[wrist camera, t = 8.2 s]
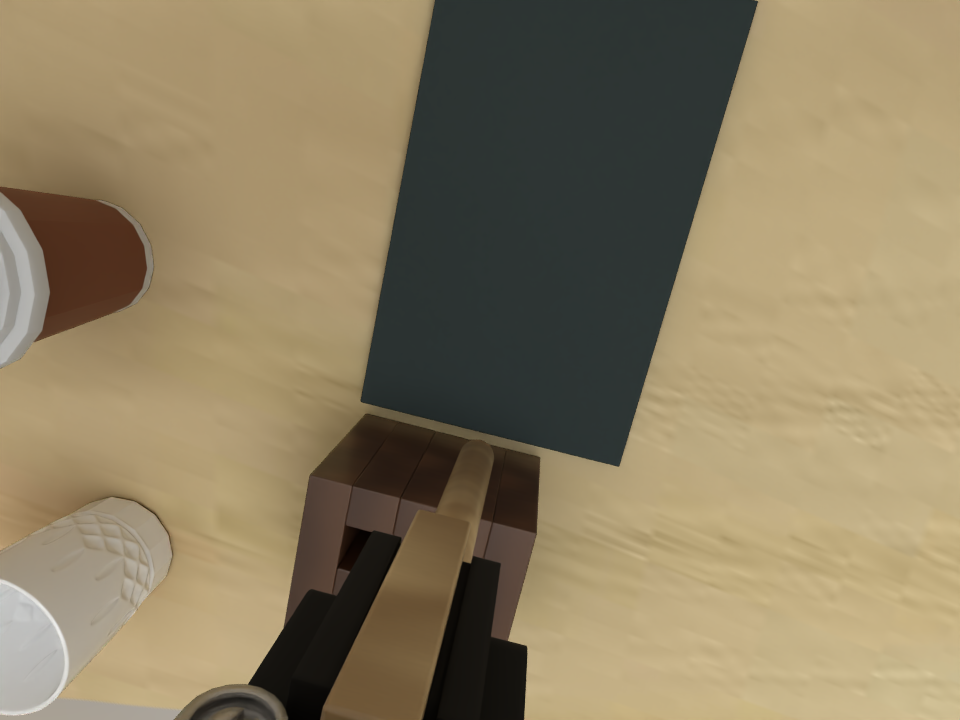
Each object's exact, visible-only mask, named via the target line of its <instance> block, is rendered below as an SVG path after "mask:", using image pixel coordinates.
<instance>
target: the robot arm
mask: <svg viewBox="0 0 960 720" xmlns="http://www.w3.org/2000/svg"><path fill="white" fill-rule="evenodd" d="M401 541H402V537H399V536H395V535H391V534H387V533H383V532H379V531H375V530H373V532H372V533H371V535H370V537H369V538H368V540H367V542H366V544H365V546H364V547H363V549H362V551H361V553H360V555H359V556H358V558H357V560H356V562H355V564H354V565H353V567H352V569H351V571H350V573H349V574H348V576H347V578H346V580H345V582H344V584H343V585H342V587H341V589H340V591H339V593H338V594H337V596H336V595H332V594H329V593H325V592H321V591H317V590H314V589H310V590H309V591H308V592H307V593H306V594H305V596H304V597H303V599H302V600H301V602H300V604H299V605H298V607H297V608H296V610H295V611H294V613H293V615H292V616H291V618H290V619H289V621H288V622H287V624H286V626H285V627H284V629H283V630H282V632H281V633H280V635H279V637H278V638H277V640H276V641H275V643H274V644H273V646H272V647H271V649H270V651H269V652H268V654H267V655H266V657H265V658H264V660H263V662H262V663H261V665H260V666H259V668H258V669H257V671H256V673H255V674H254V676H253V677H252V679H251V680H250V682H249V684H248V685H247V684H234V685H225V686H221V687H217V688H213V689H211V690H209V691H207V692H205V693H203V694H201V695H199V696H197V697H196V698H195V699H193V700H192V701H191V702H190V703H189V704H188V705H187V706H185V707H184V709H183V710H182V711H181V712H180V713H179V714H178V716H177V717H176V718H175V719H174V720H320V718H321V713H322V709H323V706H324V704H325V702H326V699H327V697H328V695H329V693H330V691H331V689H332V687H333V685H334V683H335V681H336V679H337V677H338V675H339V672H340V670H341V668H342V666H343V664H344V662H345V660H346V658H347V656H348V654H349V652H350V650H351V648H352V645H353V643H354V641H355V639H356V637H357V635H358V633H359V631H360V629H361V627H362V625H363V623H364V621H365V619H366V616H367V614H368V612H369V610H370V608H371V606H372V604H373V602H374V600H375V598H376V596H377V594H378V592H379V589H380V587H381V585H382V583H383V581H384V579H385V577H386V575H387V573H388V571H389V569H390V567H391V565H392V562H393V560H394V558H395V556H396V554H397V552H398V550H399V548H400V546H401ZM500 567H501V563H499V562H495V561H491V560H487V559H483V558H480V557H476V556H473V558H472V562H471V563H467V562H462V566H461V570H460V574H459V578H458V582H457V586H456V590H455V594H454V597H453V601H452V605H451V609H450V613H449V617H448V621H447V625H446V629H445V633H444V637H443V641H442V645H441V649H440V653H439V657H438V661H437V665H436V669H435V673H434V677H433V681H432V685H431V689H430V693H429V697H428V701H427V705H426V709H425V713H424V717H423V720H524V710H525V691H526V671H527V646H524V645H521V644H517V643H513V642H509V641H506V640H502V639H498V638H494V637H491V632H492V625H493V618H494V611H495V603H496V596H497V589H498V582H499V575H500Z"/></svg>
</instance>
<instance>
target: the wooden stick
mask: <svg viewBox="0 0 960 720" xmlns="http://www.w3.org/2000/svg"><path fill="white" fill-rule="evenodd" d="M493 462H494V453H493V450H492V448H491V447H490V445H489V444H487V443H486V442H484V441H482V440H471V441H469V442H467V443H466V444H465V445H464V446H463V447H462V449H461V451H460V453H459V456H458V458H457V461H456V463H455V465H454V468H453V470H452V473H451V475H450V478H449V480H448V483H447V485H446V487H445V490H444V492H443V495H442V497H441V500H440V502H439V505H438V507H437V510H436V512H435V513H433V512H429V511H425V510H418V511H417V513H416V515H415V517H414V519H413V521H412V523H411V525H410V527H409V529H408V531H407V533H406V535H405V538H404V540H403V542H402V544H401V546H400V548H399V550H398V552H397V554H396V556H395V558H394V560H393V562H392V565H391V567H390V569H389V571H388V573H387V575H386V577H385V579H384V581H383V583H382V585H381V587H380V589H379V592H378V594H377V596H376V598H375V600H374V602H373V604H372V606H371V608H370V610H369V612H368V614H367V616H366V619H365V621H364V623H363V625H362V627H361V629H360V631H359V633H358V635H357V637H356V639H355V641H354V643H353V645H352V648H351V650H350V652H349V654H348V656H347V658H346V660H345V662H344V664H343V666H342V668H341V670H340V672H339V675H338V677H337V679H336V681H335V683H334V685H333V687H332V689H331V691H330V693H329V695H328V697H327V699H326V702H325V704H324V706H323V709H322V713H321V718H320V720H423V717H424V713H425V709H426V705H427V701H428V697H429V693H430V689H431V685H432V681H433V677H434V673H435V669H436V665H437V661H438V657H439V653H440V649H441V645H442V641H443V637H444V633H445V629H446V625H447V621H448V617H449V613H450V609H451V605H452V601H453V597H454V594H455V590H456V586H457V582H458V578H459V574H460V570H461V566H462V562H467V563H471V560H472V555H473V551H474V546H475V542H476V537H477V533H478V528H479V524H480V520H481V515H482V511H483V506H484V502H485V497H486V493H487V488H488V484H489V479H490V475H491V470H492V466H493Z"/></svg>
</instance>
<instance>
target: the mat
mask: <svg viewBox="0 0 960 720" xmlns="http://www.w3.org/2000/svg"><path fill="white" fill-rule="evenodd" d="M757 3H758V1H755V0H435V4H434V9H433V15H432V20H431V25H430V31H429V36H428V41H427V47H426V52H425V58H424V63H423V68H422V74H421V79H420V85H419V90H418V95H417V101H416V106H415V111H414V117H413V122H412V128H411V133H410V138H409V144H408V149H407V154H406V160H405V165H404V171H403V176H402V181H401V187H400V192H399V197H398V203H397V208H396V214H395V219H394V224H393V230H392V235H391V241H390V246H389V251H388V257H387V262H386V267H385V273H384V278H383V284H382V289H381V294H380V300H379V305H378V310H377V316H376V321H375V327H374V332H373V337H372V343H371V348H370V353H369V359H368V364H367V370H366V375H365V380H364V386H363V391H362V396H361V402H363V403H367V404H371V405H375V406H379V407H383V408H387V409H391V410H395V411H399V412H403V413H407V414H411V415H415V416H419V417H423V418H427V419H431V420H435V421H439V422H443V423H447V424H451V425H455V426H459V427H463V428H467V429H471V430H475V431H479V432H483V433H487V434H491V435H495V436H499V437H503V438H507V439H511V440H515V441H519V442H523V443H527V444H530V445H534V446H538V447H542V448H546V449H550V450H554V451H558V452H562V453H566V454H570V455H574V456H578V457H582V458H586V459H590V460H594V461H598V462H602V463H606V464H610V465H614V466H619V465H620V462H621V459H622V455H623V452H624V448H625V445H626V442H627V438H628V435H629V432H630V428H631V425H632V422H633V418H634V415H635V412H636V408H637V405H638V402H639V398H640V395H641V392H642V388H643V385H644V382H645V378H646V375H647V371H648V368H649V365H650V361H651V358H652V355H653V351H654V348H655V345H656V341H657V338H658V335H659V331H660V328H661V325H662V321H663V318H664V315H665V311H666V308H667V305H668V301H669V298H670V295H671V291H672V288H673V284H674V281H675V278H676V274H677V271H678V268H679V264H680V261H681V258H682V254H683V251H684V248H685V244H686V241H687V238H688V234H689V231H690V228H691V224H692V221H693V218H694V214H695V211H696V208H697V204H698V201H699V197H700V194H701V191H702V187H703V184H704V181H705V177H706V174H707V171H708V167H709V164H710V161H711V157H712V154H713V151H714V147H715V144H716V141H717V137H718V134H719V131H720V127H721V124H722V120H723V117H724V114H725V110H726V107H727V104H728V100H729V97H730V94H731V90H732V87H733V84H734V80H735V77H736V74H737V70H738V67H739V64H740V60H741V57H742V54H743V50H744V47H745V44H746V40H747V37H748V33H749V30H750V27H751V23H752V20H753V17H754V13H755V10H756V7H757Z"/></svg>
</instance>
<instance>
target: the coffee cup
mask: <svg viewBox="0 0 960 720" xmlns="http://www.w3.org/2000/svg"><path fill="white" fill-rule="evenodd" d="M153 269H154V264H153V257H152V249H151V244H150V242H149V240H148V239H147V237H146V235H145V233H144V231H143V229H142V227H141V225H140V224H139V223H138V222H137V221H136V220H135V219H134V218H133V217H132V216H131V215H130V214H128V213H127V212H126V211H125V210H124V209H123V208H121V207H118V206H116V205H113V204H111V203H108V202H106V201H103V200H91V199H84V198H77V197H70V196H63V195H56V194H49V193H42V192H35V191H28V190H21V189H13V188H6V187H0V368H3V367H5V366H7V365H9V364H11V363H13V362H15V361H17V360H19V359H21V358H22V357H23V355H24V354H25V353H26V351H27V350H28V349H29V347H30V346H31V345H32V343H33V342H36V341H38V340H41V339H44V338H47V337H49V336H52V335H55V334H57V333H60V332H63V331H65V330H68V329H71V328H74V327H76V326H79V325H82V324H84V323H87V322H90V321H93V320H95V319H98V318H101V317H103V316H106V315H109V314H112V313H116V312H119V311H122V310H124V309H126V308H128V307H130V306H132V305H134V304H136V303H137V302H138V301H139V300H140V298H141V297H142V296H143V295H144V293H145V292H146V291H147V290H148V288H149V285H150V281H151V277H152V273H153Z"/></svg>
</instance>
